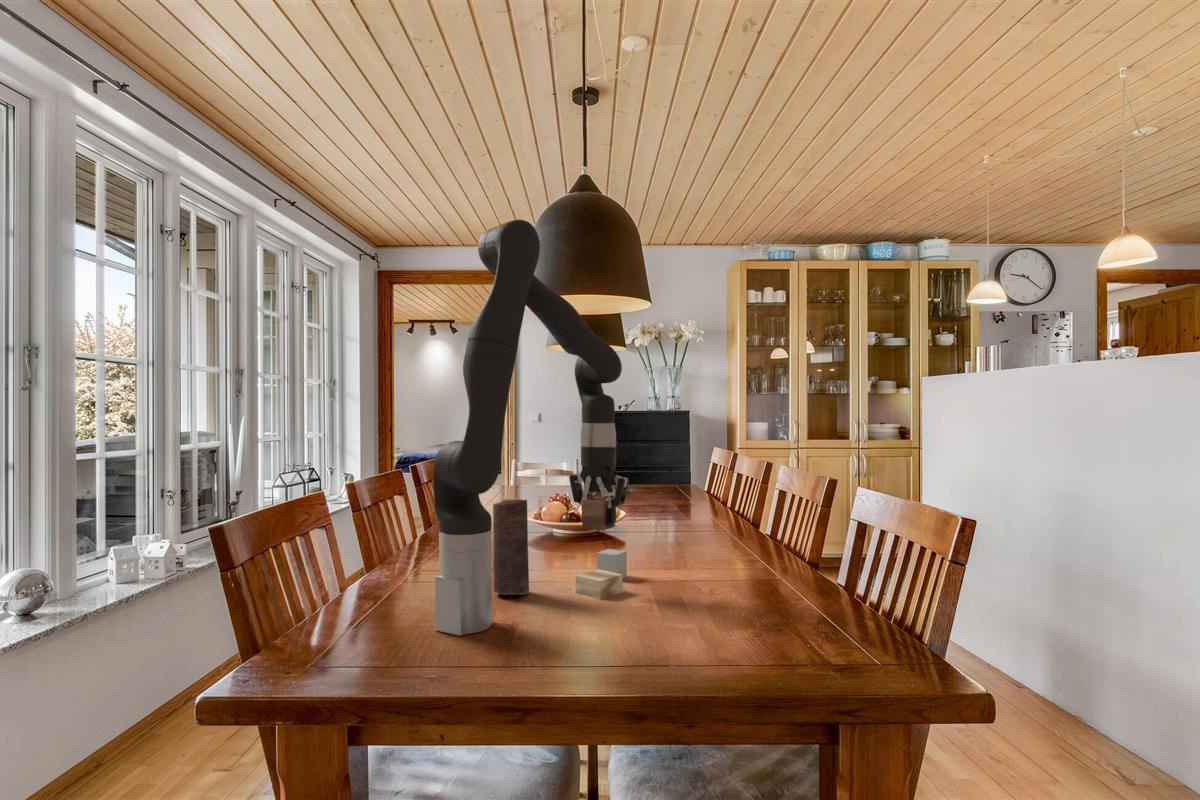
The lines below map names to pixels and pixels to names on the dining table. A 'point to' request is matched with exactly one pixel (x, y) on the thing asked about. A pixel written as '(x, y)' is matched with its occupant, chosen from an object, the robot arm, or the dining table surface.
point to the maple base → (599, 584)
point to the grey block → (613, 561)
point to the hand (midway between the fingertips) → (598, 524)
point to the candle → (510, 547)
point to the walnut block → (594, 514)
